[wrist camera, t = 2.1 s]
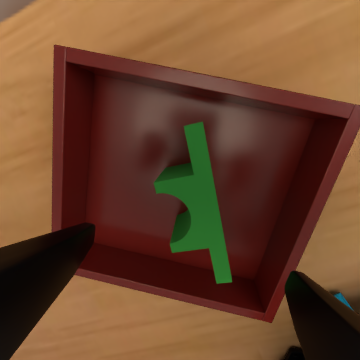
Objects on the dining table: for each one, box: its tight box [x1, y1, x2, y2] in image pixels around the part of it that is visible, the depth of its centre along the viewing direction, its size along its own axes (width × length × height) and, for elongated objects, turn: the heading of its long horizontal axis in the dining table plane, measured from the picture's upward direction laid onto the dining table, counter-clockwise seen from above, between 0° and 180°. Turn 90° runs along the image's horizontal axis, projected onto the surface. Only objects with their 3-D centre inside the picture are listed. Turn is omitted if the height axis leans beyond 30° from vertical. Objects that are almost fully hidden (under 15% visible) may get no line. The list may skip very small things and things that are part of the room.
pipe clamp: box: [154, 122, 232, 284], centre depth 15 cm, size 11×4×5 cm, turn 12°
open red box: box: [52, 45, 360, 323], centre depth 16 cm, size 19×17×4 cm
